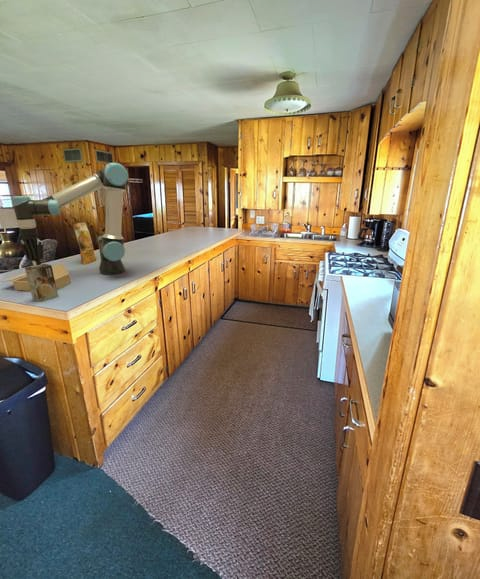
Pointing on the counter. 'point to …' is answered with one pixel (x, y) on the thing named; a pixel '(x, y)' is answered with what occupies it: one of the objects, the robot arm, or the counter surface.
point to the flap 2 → (59, 271)
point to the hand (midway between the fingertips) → (38, 272)
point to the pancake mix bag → (84, 242)
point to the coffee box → (41, 282)
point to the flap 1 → (15, 277)
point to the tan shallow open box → (24, 285)
